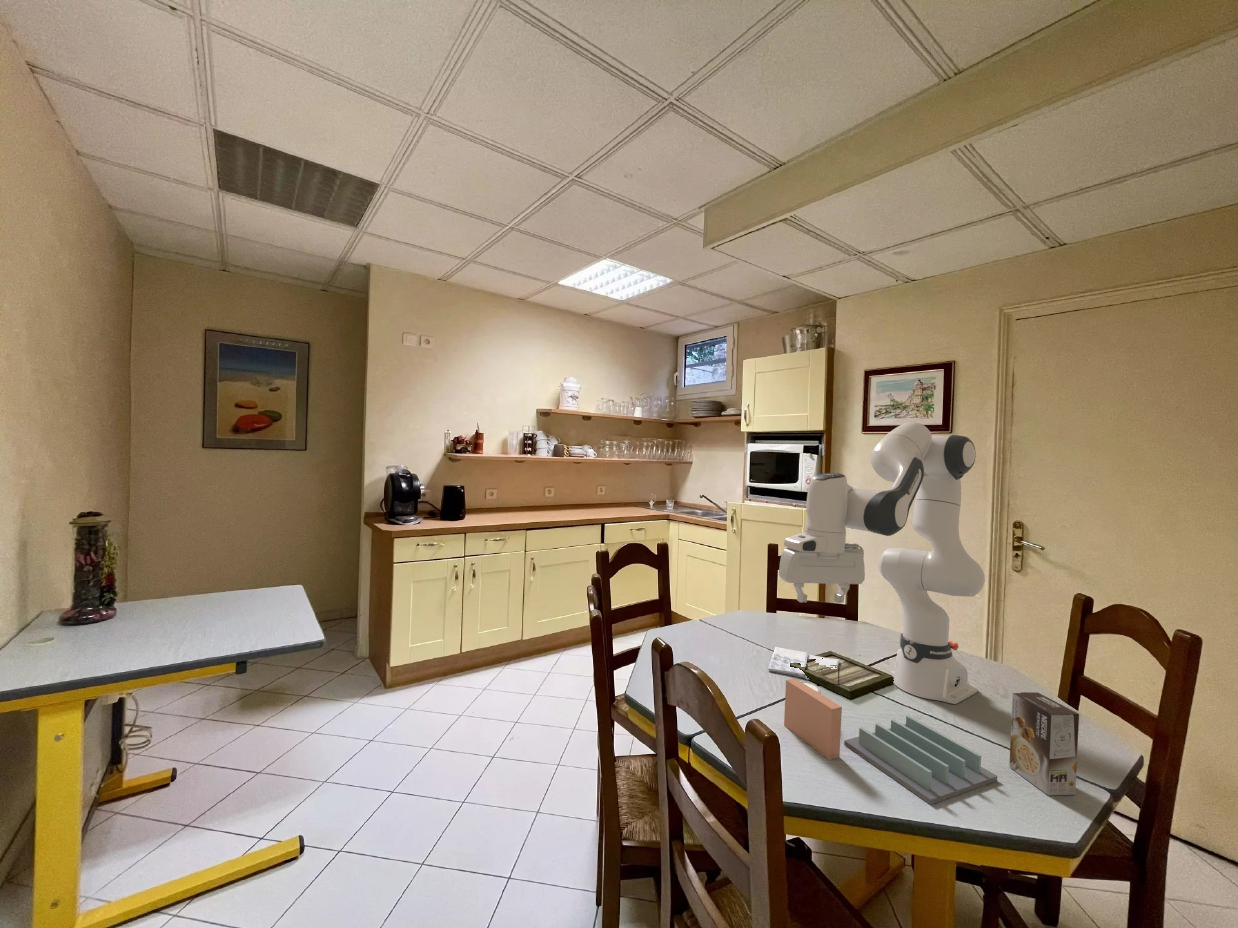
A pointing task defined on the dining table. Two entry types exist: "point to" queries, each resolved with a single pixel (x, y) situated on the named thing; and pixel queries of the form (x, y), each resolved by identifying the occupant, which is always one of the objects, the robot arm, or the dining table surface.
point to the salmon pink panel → (813, 718)
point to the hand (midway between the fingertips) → (820, 601)
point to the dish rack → (922, 759)
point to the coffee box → (1044, 743)
